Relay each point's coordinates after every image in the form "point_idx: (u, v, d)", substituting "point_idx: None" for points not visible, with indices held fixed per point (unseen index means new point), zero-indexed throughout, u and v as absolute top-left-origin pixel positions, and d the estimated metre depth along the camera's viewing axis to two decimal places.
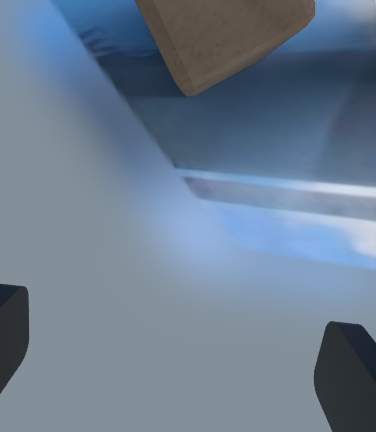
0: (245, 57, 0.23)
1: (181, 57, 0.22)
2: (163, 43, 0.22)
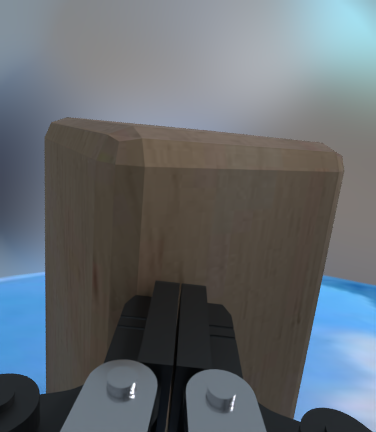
0: (254, 162, 0.11)
1: (123, 124, 0.10)
2: (90, 128, 0.11)
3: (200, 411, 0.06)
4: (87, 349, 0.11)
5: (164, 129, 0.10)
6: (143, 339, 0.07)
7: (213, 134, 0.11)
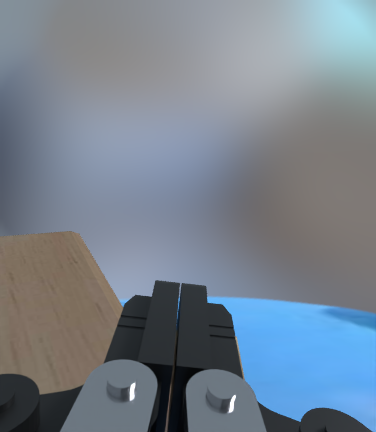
0: None
1: None
2: None
3: (200, 411, 0.06)
4: None
5: None
6: (143, 339, 0.07)
7: None
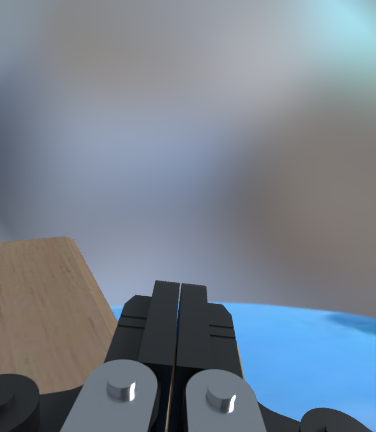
0: None
1: None
2: None
3: (200, 411, 0.06)
4: None
5: None
6: (143, 339, 0.07)
7: None
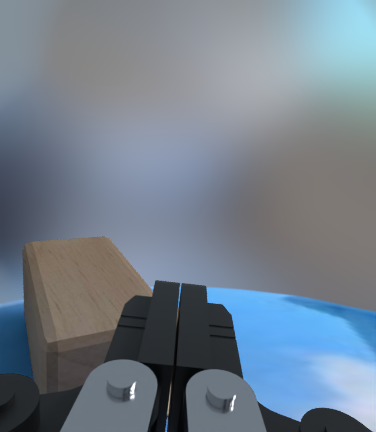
0: (67, 239, 0.41)
1: None
2: None
3: (200, 411, 0.06)
4: (26, 276, 0.34)
5: None
6: (143, 339, 0.07)
7: None
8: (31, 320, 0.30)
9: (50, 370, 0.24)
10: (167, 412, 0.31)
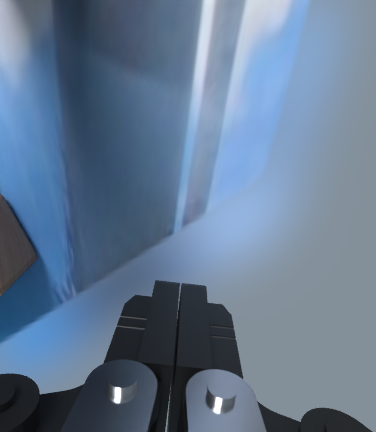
0: None
1: None
2: None
3: (200, 411, 0.06)
4: None
5: None
6: (143, 339, 0.07)
7: None
8: None
9: (10, 283, 0.38)
10: None
